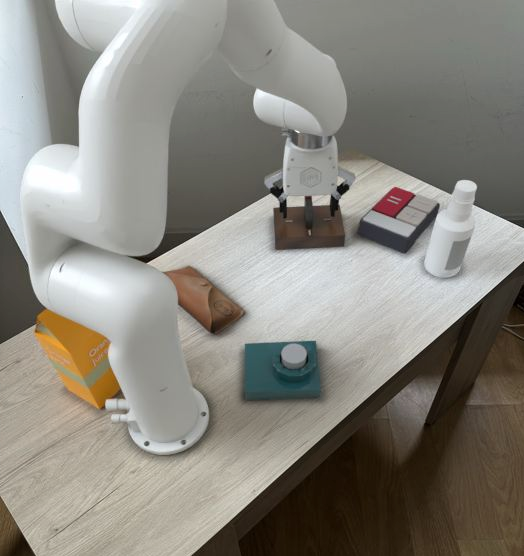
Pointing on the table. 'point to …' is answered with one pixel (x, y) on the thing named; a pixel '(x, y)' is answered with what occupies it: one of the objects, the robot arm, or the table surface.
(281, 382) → the grey cylindrical knob base
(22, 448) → the table surface
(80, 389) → the orange juice
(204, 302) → the sunglasses case
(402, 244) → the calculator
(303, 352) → the grey cylindrical knob
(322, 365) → the table surface
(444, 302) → the table surface
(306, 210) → the dial
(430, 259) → the spray bottle
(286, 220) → the selector
